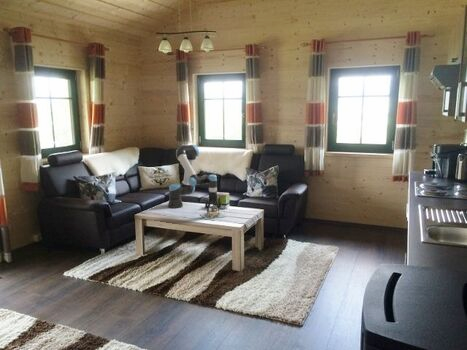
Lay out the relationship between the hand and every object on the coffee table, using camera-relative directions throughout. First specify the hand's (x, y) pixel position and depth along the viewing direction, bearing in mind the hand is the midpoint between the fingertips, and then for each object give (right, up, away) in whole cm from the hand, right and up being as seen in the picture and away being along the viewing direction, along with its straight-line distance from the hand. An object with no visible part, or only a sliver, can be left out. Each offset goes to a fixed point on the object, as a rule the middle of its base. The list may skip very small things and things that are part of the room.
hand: (213, 214), depth 349 cm
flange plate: (-1, 0, +2) cm, 2 cm away
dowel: (+4, +1, +9) cm, 10 cm away
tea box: (+7, +4, +30) cm, 31 cm away
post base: (0, -1, 0) cm, 1 cm away
